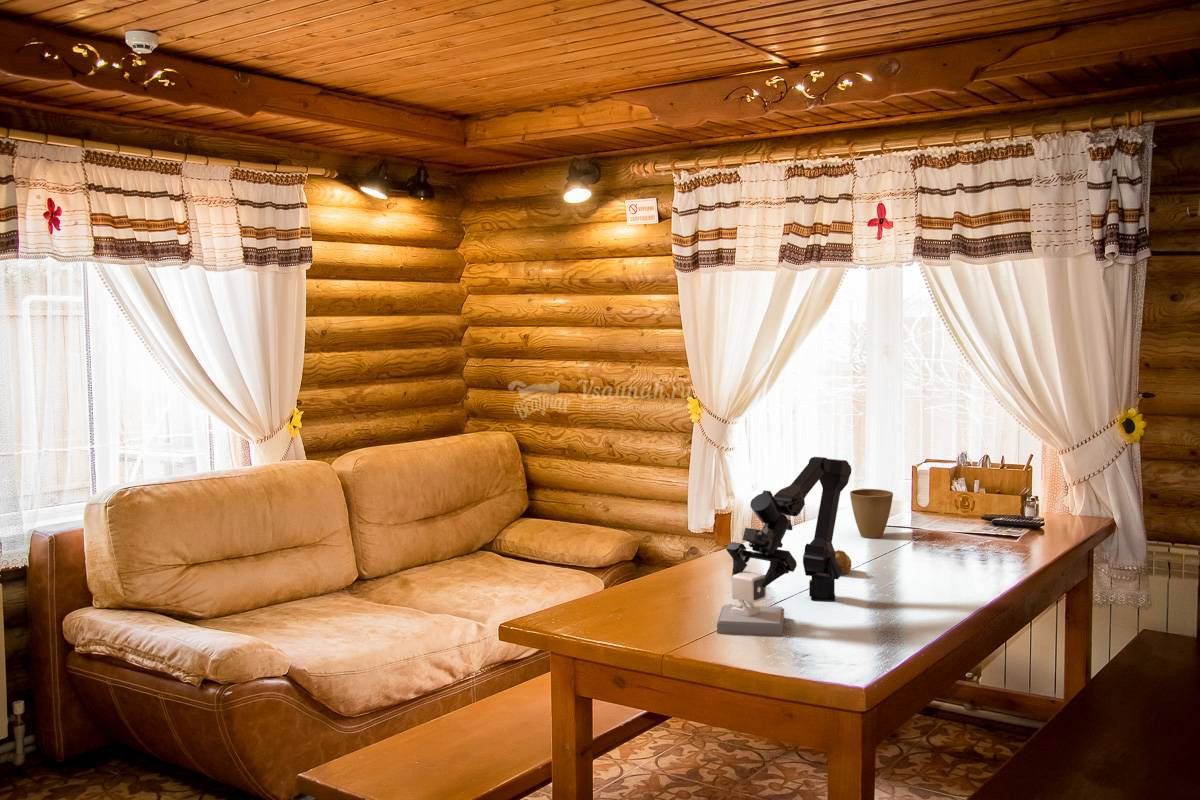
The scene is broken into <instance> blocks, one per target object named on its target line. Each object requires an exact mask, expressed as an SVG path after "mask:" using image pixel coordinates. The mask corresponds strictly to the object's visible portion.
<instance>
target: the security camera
mask: <svg viewBox="0 0 1200 800" xmlns="http://www.w3.org/2000/svg"><path fill="white" fill-rule="evenodd" d="M765 575H766V574H762V573H757V572H752V571H751V572H750V571H745V570H743V572H741V573H738V574H735V575H733V576H732V575H731V588H732V589H731V591H732V593H731V594H732V595H731V596H732V598H731V599H733V600H738V601H739V603H740V604H739V605H738V607H737V606H735V607H732V608H731V613H734V614H739V615H743V616H751V615H754V614H756V613H759V612H760V607H757V606H758V605H754V603H758V602H761V601H762V600H765V599H766V598H767V586H766V587H765V588H763V587H762V586H761V585H762V582H763V579H764V577H765Z"/></svg>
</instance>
